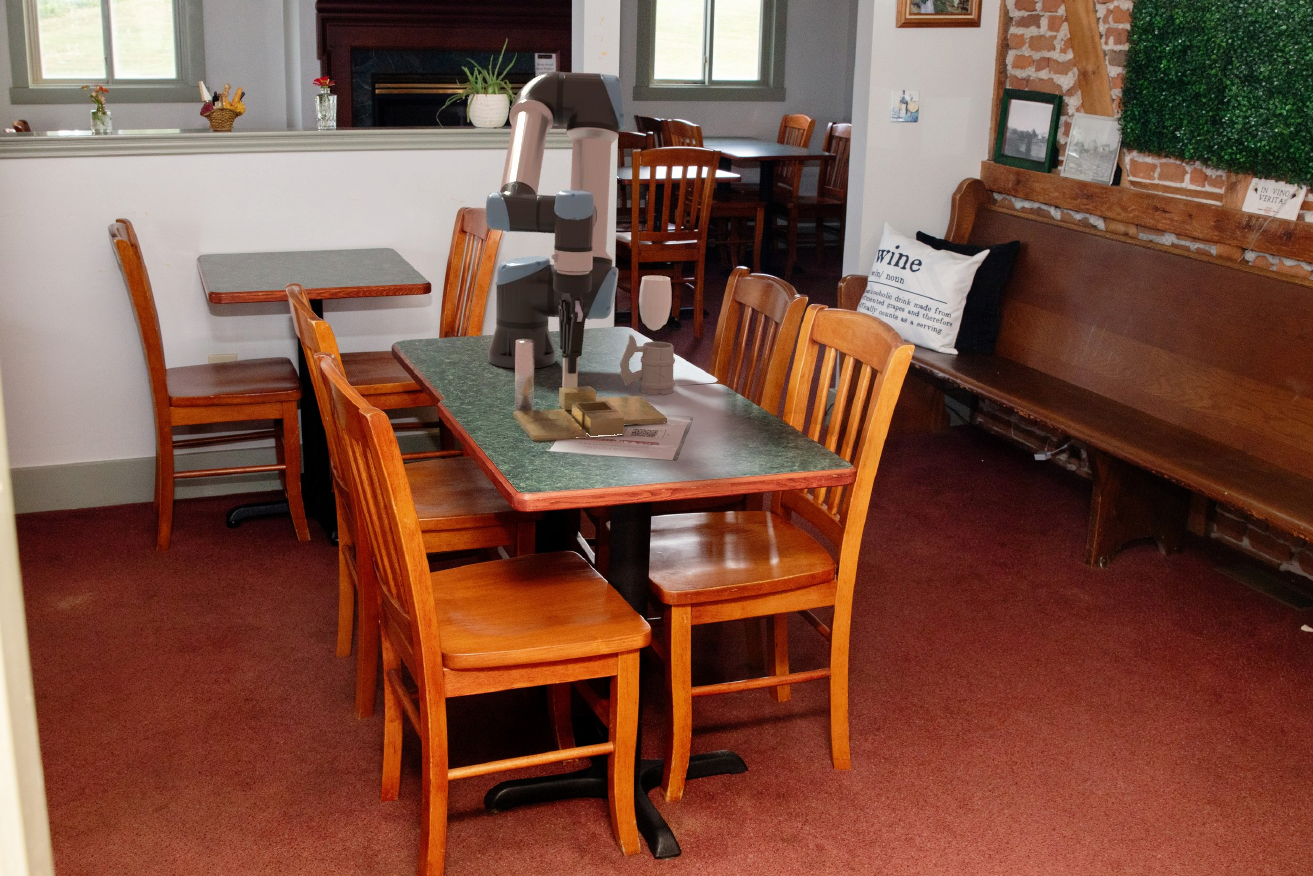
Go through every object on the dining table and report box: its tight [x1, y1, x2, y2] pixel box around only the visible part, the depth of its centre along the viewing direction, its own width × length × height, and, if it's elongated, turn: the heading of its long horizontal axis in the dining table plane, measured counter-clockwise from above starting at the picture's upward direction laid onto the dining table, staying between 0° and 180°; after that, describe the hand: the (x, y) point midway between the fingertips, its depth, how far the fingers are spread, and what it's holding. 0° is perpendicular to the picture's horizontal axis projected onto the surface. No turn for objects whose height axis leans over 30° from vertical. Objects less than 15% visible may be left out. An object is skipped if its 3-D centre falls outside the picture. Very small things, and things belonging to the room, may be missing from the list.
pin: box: [514, 339, 535, 411], centre depth 239 cm, size 4×4×14 cm
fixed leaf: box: [512, 401, 625, 442], centre depth 232 cm, size 16×17×4 cm
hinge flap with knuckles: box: [558, 385, 668, 425], centre depth 241 cm, size 16×17×4 cm
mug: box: [619, 334, 676, 396], centre depth 258 cm, size 8×12×12 cm, turn 103°
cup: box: [638, 275, 672, 331], centre depth 275 cm, size 7×7×21 cm
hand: (569, 387), depth 249 cm, fingers closed
